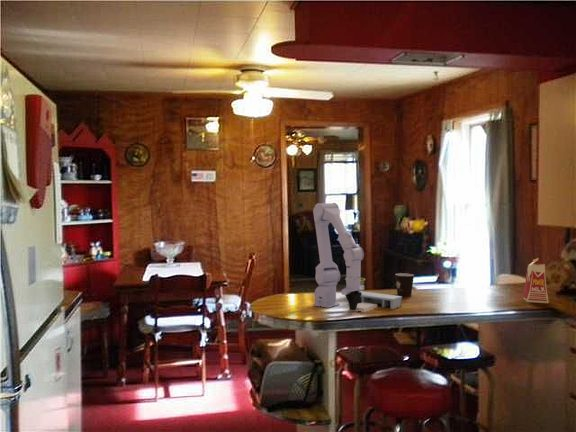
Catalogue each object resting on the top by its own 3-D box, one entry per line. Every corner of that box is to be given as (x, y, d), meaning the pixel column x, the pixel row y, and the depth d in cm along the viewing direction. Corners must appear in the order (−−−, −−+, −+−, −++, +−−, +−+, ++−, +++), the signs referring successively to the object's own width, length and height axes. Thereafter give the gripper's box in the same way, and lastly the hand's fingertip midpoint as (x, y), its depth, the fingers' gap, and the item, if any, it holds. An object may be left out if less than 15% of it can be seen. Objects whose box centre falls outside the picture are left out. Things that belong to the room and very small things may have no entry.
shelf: (393, 309, 240) (393, 299, 240) (352, 303, 252) (352, 293, 252) (401, 306, 247) (401, 296, 246) (361, 300, 259) (361, 291, 259)
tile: (363, 313, 233) (364, 308, 233) (348, 311, 237) (348, 306, 237) (377, 308, 243) (377, 304, 243) (362, 306, 247) (362, 302, 247)
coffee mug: (415, 297, 267) (415, 276, 266) (396, 297, 267) (397, 275, 266) (410, 293, 278) (410, 272, 278) (392, 292, 279) (392, 272, 278)
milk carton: (548, 303, 256) (550, 258, 255) (526, 302, 258) (528, 258, 257) (543, 299, 265) (545, 256, 264) (522, 298, 266) (523, 255, 266)
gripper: (352, 279, 225) (352, 314, 226) (370, 275, 236) (370, 308, 237) (337, 278, 229) (337, 311, 230) (356, 274, 241) (355, 306, 241)
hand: (352, 309), depth 234 cm, fingers closed
